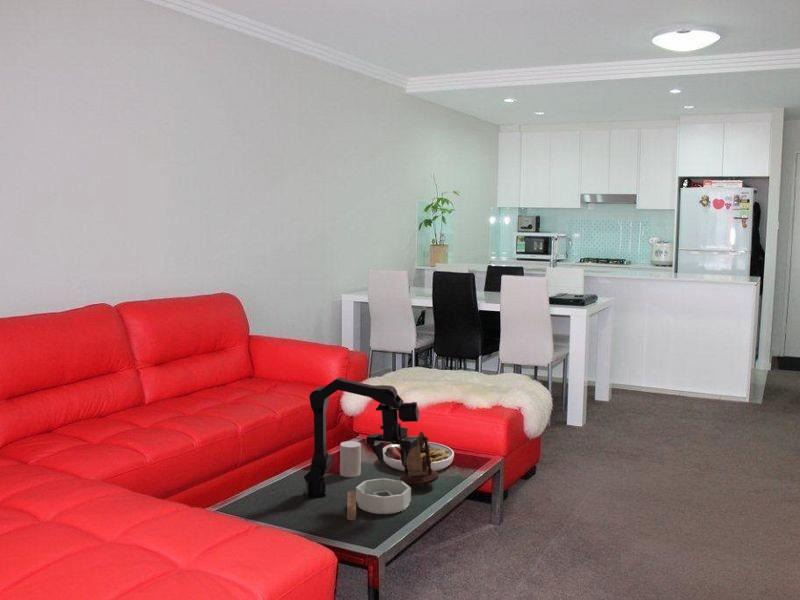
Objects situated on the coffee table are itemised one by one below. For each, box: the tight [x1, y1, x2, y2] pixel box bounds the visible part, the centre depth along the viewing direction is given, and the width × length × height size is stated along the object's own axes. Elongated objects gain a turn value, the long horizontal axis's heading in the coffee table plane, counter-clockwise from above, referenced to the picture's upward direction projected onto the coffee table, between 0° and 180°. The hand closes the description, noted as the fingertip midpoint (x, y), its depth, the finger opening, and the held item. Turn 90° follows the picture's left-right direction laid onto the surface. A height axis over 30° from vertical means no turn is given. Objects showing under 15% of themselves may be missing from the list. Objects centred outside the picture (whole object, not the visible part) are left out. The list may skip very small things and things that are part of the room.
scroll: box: [399, 431, 439, 488], centre depth 286 cm, size 15×15×20 cm
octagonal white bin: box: [355, 477, 412, 515], centre depth 268 cm, size 18×18×6 cm
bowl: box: [383, 441, 455, 472], centre depth 314 cm, size 30×30×8 cm
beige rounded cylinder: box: [346, 490, 357, 521], centre depth 254 cm, size 3×3×9 cm
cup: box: [339, 440, 362, 478], centre depth 298 cm, size 8×8×12 cm
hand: (393, 464), depth 269 cm, fingers open, 9 cm apart
